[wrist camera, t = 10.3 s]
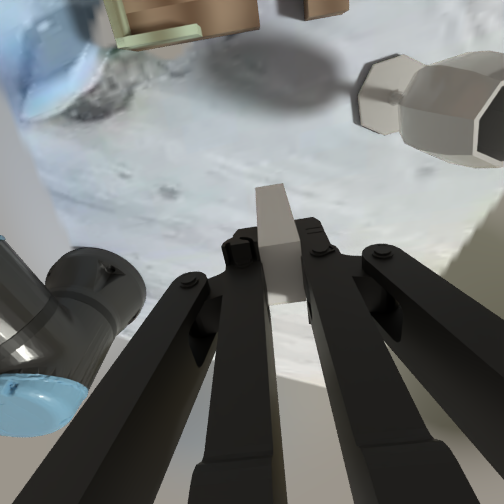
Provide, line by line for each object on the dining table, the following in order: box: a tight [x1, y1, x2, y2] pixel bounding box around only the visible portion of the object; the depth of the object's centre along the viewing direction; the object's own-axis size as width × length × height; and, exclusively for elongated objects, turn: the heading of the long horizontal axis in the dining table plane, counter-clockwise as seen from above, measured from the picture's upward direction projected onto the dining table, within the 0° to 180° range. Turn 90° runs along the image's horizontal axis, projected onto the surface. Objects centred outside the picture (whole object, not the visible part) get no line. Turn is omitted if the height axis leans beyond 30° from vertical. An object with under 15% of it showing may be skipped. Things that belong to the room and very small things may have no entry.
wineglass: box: [357, 51, 504, 168], centre depth 29 cm, size 9×9×21 cm
